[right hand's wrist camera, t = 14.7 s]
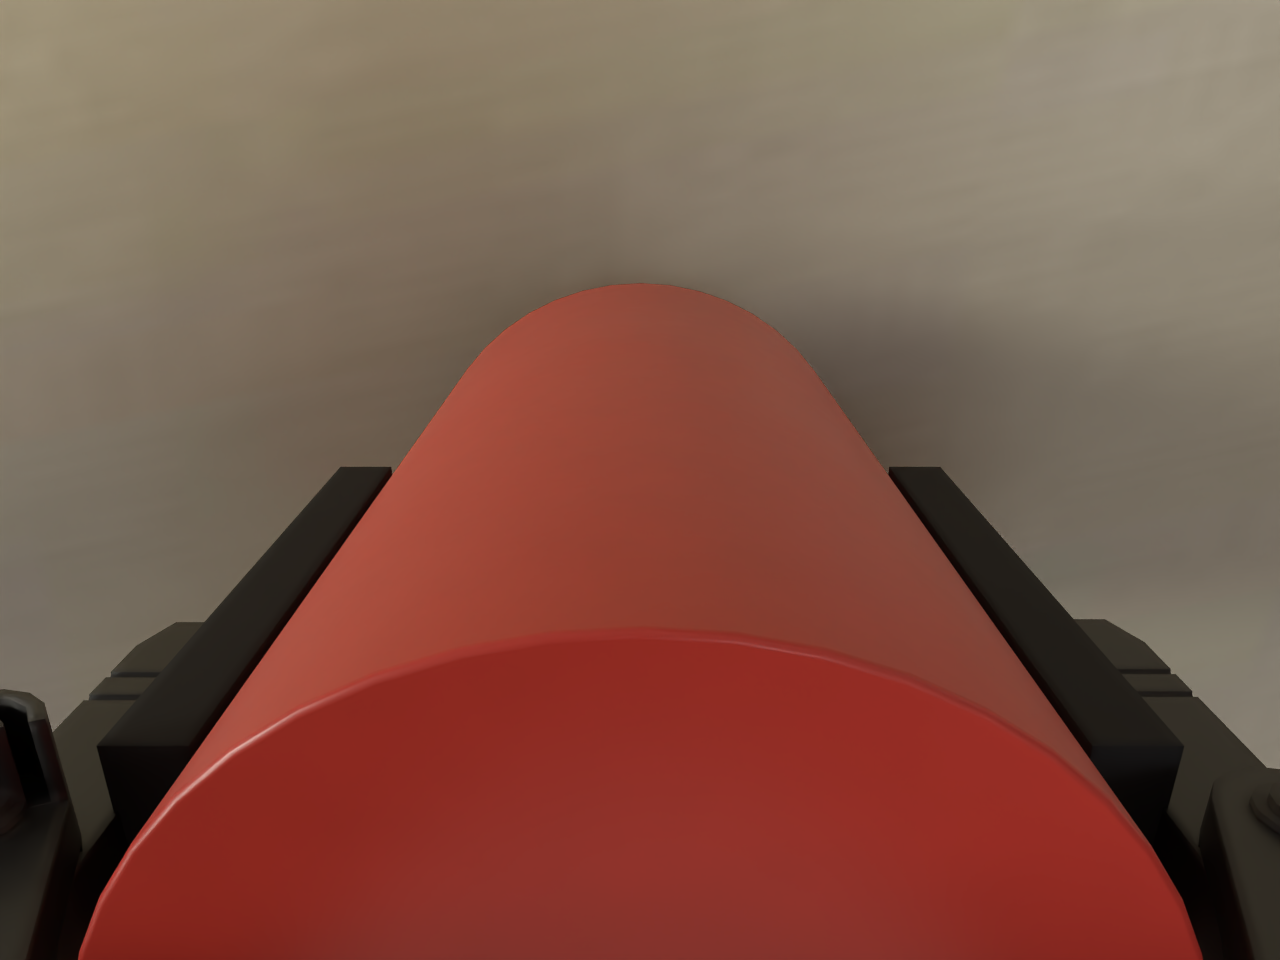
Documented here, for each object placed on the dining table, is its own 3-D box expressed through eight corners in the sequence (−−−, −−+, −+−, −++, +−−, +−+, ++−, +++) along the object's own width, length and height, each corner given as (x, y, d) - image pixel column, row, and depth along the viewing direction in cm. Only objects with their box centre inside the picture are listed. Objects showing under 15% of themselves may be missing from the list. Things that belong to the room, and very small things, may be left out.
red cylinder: (726, 197, 14) (940, 373, 4) (913, 559, 17) (1345, 1248, 7) (349, 418, 16) (-195, 966, 6) (571, 725, 18) (481, 1516, 8)
